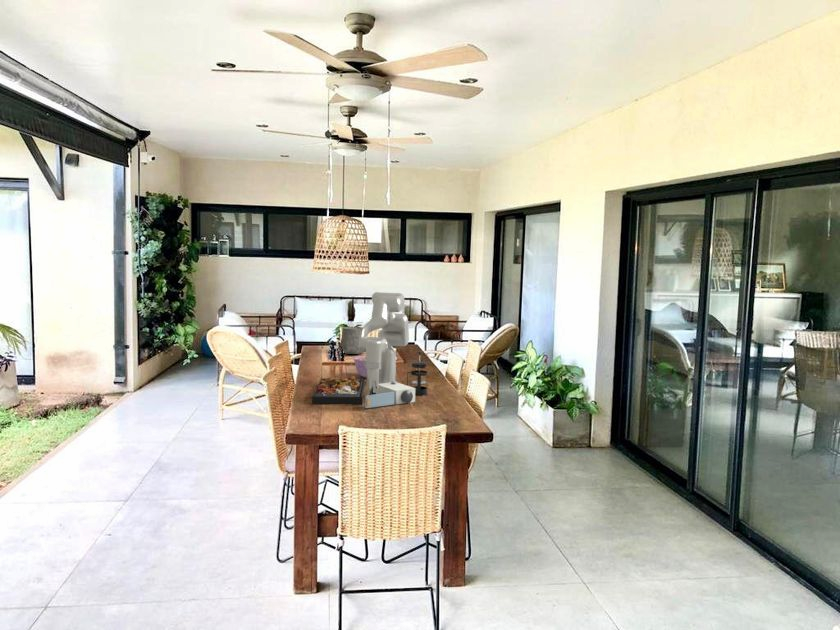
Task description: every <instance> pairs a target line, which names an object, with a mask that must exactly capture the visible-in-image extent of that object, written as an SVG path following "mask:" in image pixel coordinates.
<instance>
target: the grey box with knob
mask: <svg viewBox="0 0 840 630" xmlns="http://www.w3.org/2000/svg"><path fill="white" fill-rule="evenodd" d="M397 382H398V381H397ZM397 382H390V383H382V384H378V389H376V394H381V393H389V392H395V391H396V392H397V394H396V404H394V405H395V406H396V405H402V404H410V403H415V402H416V396H415V388H413V386H411V385H408V386H407V384H403V383H400V382H398V383H397Z"/></svg>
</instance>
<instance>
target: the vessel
mask: <svg viewBox="0 0 840 630" xmlns="http://www.w3.org/2000/svg"><path fill="white" fill-rule="evenodd" d="M362 328H363V327H361V326H344V327H343V326H342V335H341V340H340V342H339V346H341V347H342V349H343V351H344V353H345V354H344V355H347V354H360V355H362V354H364V352H362V351H361V350H360V349H359V338H360V332H361V330H362ZM361 353H362V354H361Z"/></svg>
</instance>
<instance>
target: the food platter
mask: <svg viewBox="0 0 840 630" xmlns="http://www.w3.org/2000/svg"><path fill="white" fill-rule="evenodd" d="M315 384H316V385H315V386H316V388H315V390H314V392H313V394H312V396H311V405H330V404H352V405H351V406H363V403H364V401H363V400H364V393H365V385H366V378H356V377H355V376H354V375H352V376H350V377H349V378H346V377H345V378H344V377H343V376H340V377H339V376H338V375H335V376H332V377H327V378H324V377H322V378H320V380H319V382H318V384H317V382H315ZM353 404H354V405H353Z"/></svg>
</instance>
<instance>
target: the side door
mask: <svg viewBox="0 0 840 630" xmlns="http://www.w3.org/2000/svg"><path fill="white" fill-rule="evenodd" d="M396 394H397V392H396V391H395V392H389V393H381V394H373V395H369V394H367V395H366V394H365V396H364V397H365V399H364V401H365V402H364V408H365V409H368V408H369V409H370V408H377V407H383V406H384V407H385V406H392V405H395V404H396ZM396 405H397V404H396Z"/></svg>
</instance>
